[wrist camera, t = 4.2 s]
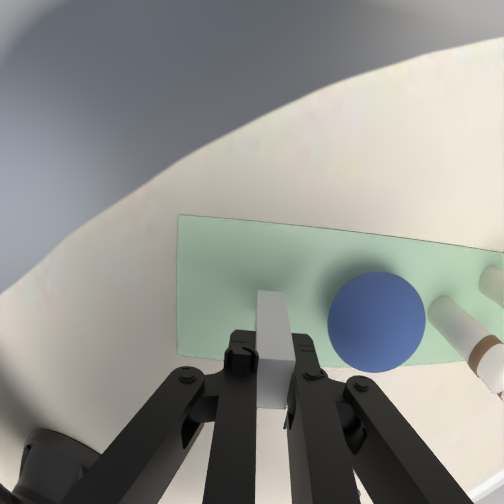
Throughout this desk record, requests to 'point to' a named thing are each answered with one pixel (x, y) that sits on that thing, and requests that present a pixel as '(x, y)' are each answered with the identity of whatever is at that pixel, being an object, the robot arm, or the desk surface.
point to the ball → (376, 322)
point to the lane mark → (313, 281)
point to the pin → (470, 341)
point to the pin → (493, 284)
